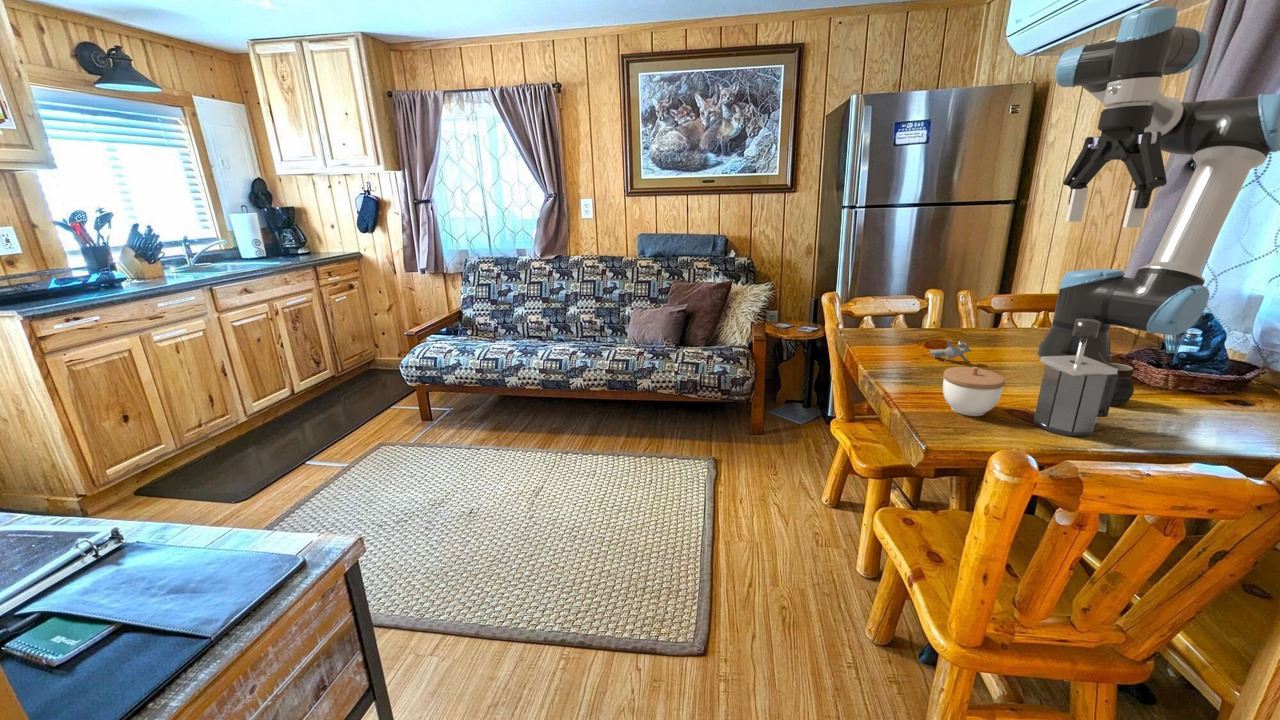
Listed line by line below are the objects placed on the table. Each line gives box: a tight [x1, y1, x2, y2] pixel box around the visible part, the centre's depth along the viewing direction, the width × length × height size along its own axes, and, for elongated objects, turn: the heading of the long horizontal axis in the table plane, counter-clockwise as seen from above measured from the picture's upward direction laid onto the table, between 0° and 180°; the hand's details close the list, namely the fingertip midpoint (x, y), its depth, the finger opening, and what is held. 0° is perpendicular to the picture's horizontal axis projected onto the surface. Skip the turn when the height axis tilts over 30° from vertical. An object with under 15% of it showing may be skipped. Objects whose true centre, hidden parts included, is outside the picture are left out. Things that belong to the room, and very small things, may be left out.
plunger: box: [1072, 319, 1101, 365], centre depth 101 cm, size 6×6×18 cm
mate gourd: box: [1098, 352, 1135, 407], centre depth 114 cm, size 7×8×10 cm
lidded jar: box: [942, 366, 1006, 417], centre depth 111 cm, size 11×11×9 cm
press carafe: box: [1033, 355, 1119, 438], centre depth 102 cm, size 12×9×13 cm
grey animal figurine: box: [930, 339, 972, 363], centre depth 141 cm, size 10×6×9 cm
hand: (1100, 224), depth 107 cm, fingers open, 13 cm apart
